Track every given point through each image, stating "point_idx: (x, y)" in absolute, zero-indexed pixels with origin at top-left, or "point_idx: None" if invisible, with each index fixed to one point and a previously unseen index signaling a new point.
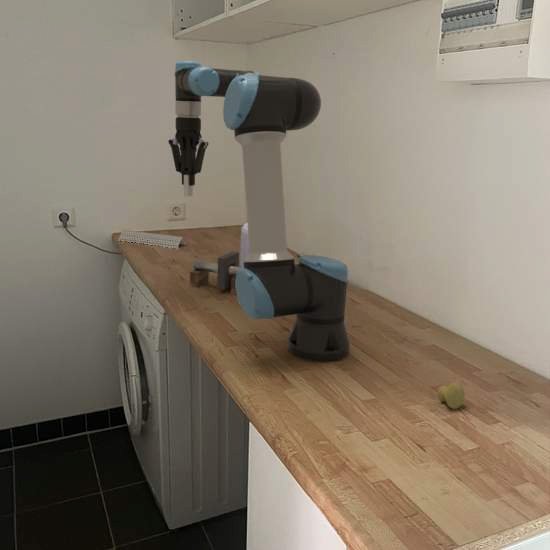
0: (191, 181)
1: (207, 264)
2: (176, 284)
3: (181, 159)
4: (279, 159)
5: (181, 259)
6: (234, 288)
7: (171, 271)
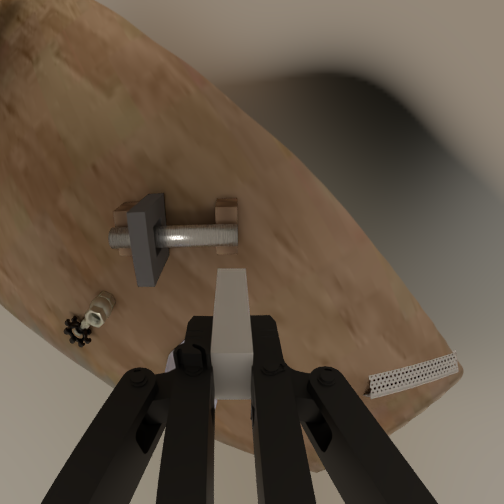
0: (193, 333)
1: (199, 231)
2: (270, 197)
3: (300, 468)
4: None
5: (341, 338)
6: (130, 205)
7: (324, 269)
